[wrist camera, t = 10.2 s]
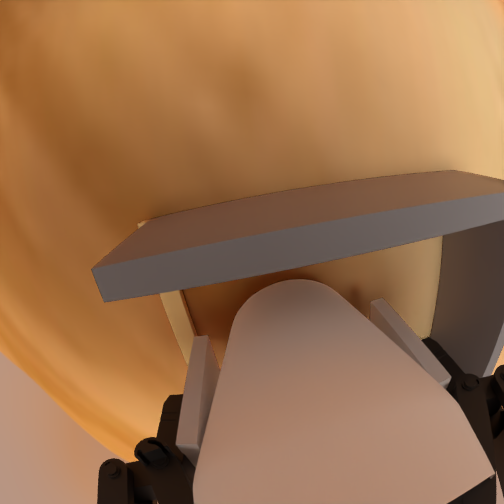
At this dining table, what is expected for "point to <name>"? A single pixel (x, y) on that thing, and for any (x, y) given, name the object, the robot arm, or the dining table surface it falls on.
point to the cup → (329, 412)
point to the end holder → (332, 249)
